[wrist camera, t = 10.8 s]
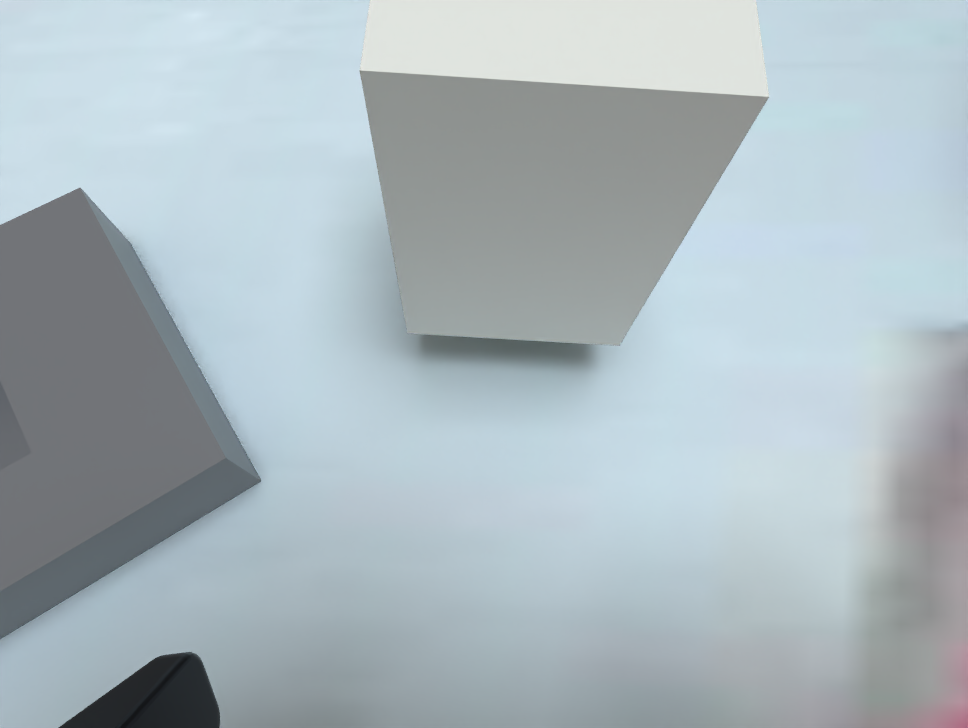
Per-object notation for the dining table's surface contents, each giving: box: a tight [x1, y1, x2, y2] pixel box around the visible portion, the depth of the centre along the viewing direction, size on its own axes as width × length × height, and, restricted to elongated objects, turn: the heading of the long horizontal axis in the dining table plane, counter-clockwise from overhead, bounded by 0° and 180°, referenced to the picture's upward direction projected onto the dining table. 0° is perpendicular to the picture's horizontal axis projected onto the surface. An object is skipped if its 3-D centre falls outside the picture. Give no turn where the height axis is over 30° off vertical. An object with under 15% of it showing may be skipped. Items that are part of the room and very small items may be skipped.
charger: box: [360, 0, 769, 346], centre depth 14 cm, size 5×5×10 cm
